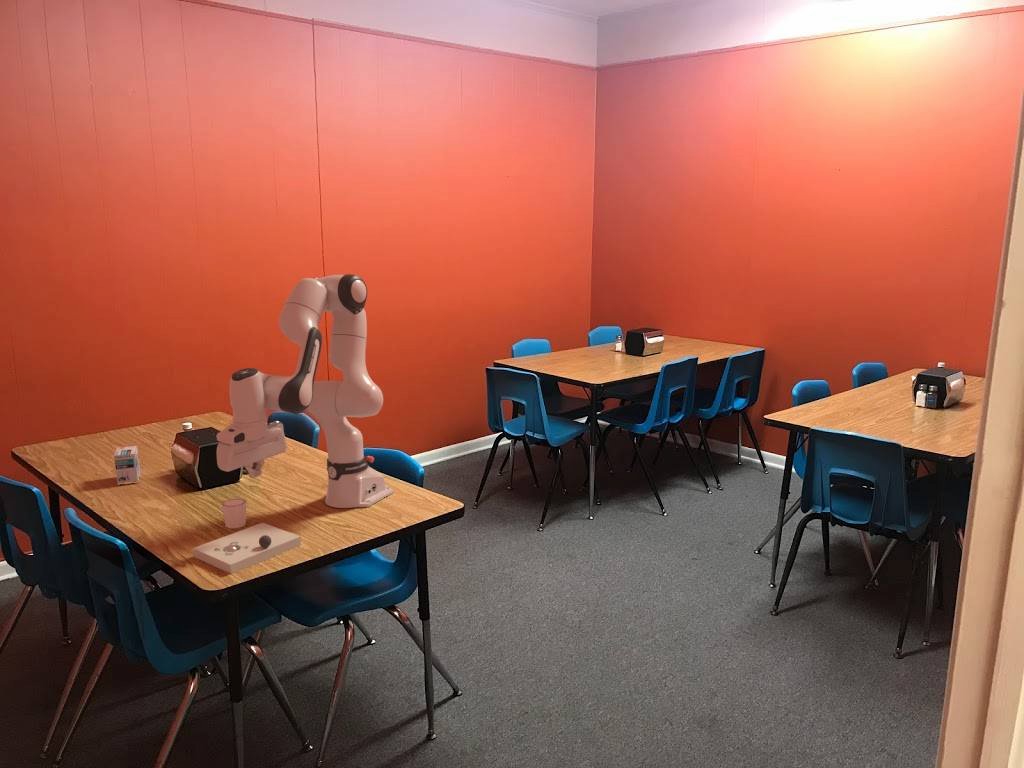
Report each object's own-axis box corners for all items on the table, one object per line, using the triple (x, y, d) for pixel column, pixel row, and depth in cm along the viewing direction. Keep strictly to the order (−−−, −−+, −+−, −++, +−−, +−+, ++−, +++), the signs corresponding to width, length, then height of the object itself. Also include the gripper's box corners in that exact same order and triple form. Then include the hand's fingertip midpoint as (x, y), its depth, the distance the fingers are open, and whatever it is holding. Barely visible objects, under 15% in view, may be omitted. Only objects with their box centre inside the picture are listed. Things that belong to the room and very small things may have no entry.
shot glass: (250, 520, 233) (249, 498, 231) (243, 529, 226) (242, 506, 225) (227, 520, 233) (225, 498, 231) (220, 529, 226) (218, 506, 224)
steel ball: (233, 554, 209) (233, 542, 209) (240, 557, 208) (240, 545, 207) (223, 557, 207) (222, 546, 206) (230, 560, 205) (229, 549, 204)
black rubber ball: (266, 543, 210) (266, 532, 209) (274, 546, 208) (273, 535, 207) (256, 547, 207) (255, 536, 207) (264, 550, 206) (263, 539, 205)
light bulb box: (138, 483, 265) (135, 453, 263) (116, 486, 263) (113, 455, 260) (140, 474, 275) (137, 445, 273) (119, 476, 272) (116, 447, 270)
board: (263, 530, 225) (262, 522, 224) (301, 544, 215) (300, 536, 214) (193, 556, 208) (192, 548, 207) (231, 573, 198) (230, 564, 197)
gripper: (274, 417, 220) (279, 463, 223) (210, 436, 204) (216, 485, 208) (289, 421, 216) (293, 467, 220) (225, 440, 200) (230, 490, 204)
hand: (255, 476), depth 214 cm, fingers closed
